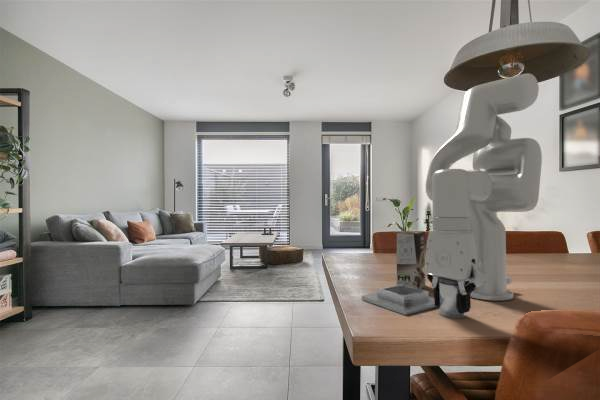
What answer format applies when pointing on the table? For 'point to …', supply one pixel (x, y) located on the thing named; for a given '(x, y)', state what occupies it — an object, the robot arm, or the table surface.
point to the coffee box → (411, 259)
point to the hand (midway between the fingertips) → (451, 307)
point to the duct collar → (401, 299)
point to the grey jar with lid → (449, 298)
